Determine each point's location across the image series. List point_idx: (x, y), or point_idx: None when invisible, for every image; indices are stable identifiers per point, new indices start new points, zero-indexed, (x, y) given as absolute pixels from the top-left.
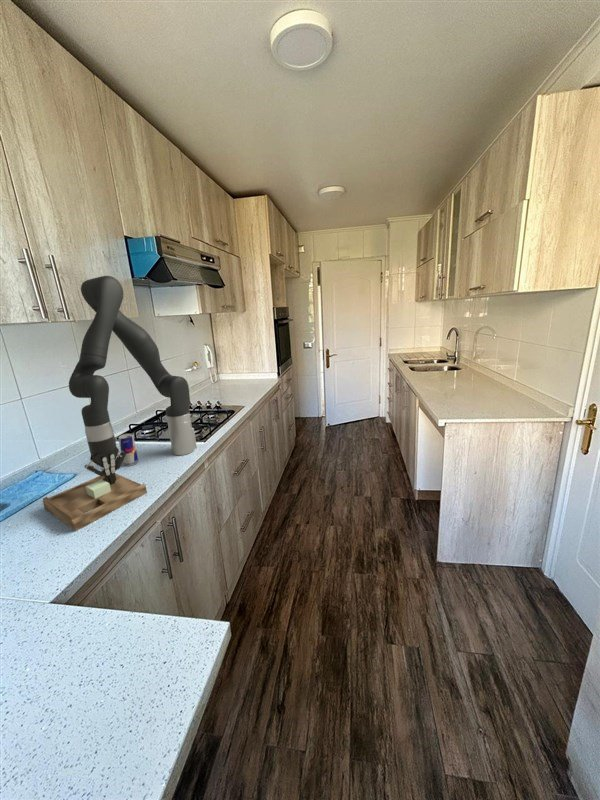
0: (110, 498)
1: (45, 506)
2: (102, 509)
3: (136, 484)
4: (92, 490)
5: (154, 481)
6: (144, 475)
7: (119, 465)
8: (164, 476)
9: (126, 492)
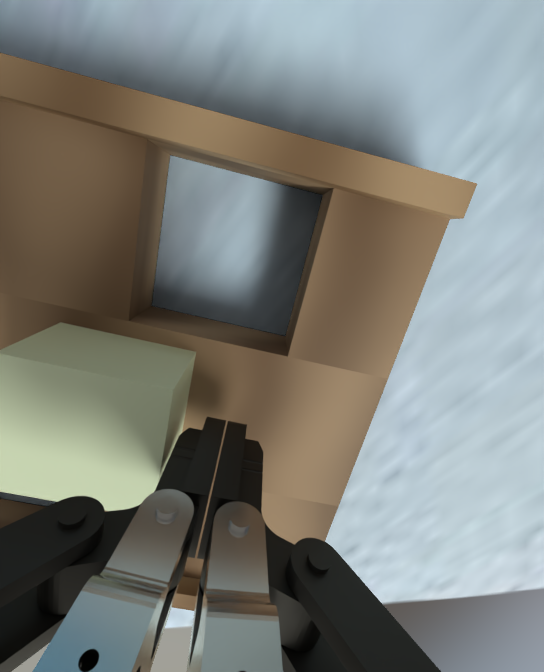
0: None
1: None
2: None
3: None
4: (2, 475)
5: (417, 522)
6: (489, 413)
7: (314, 662)
8: (483, 537)
9: (203, 559)
